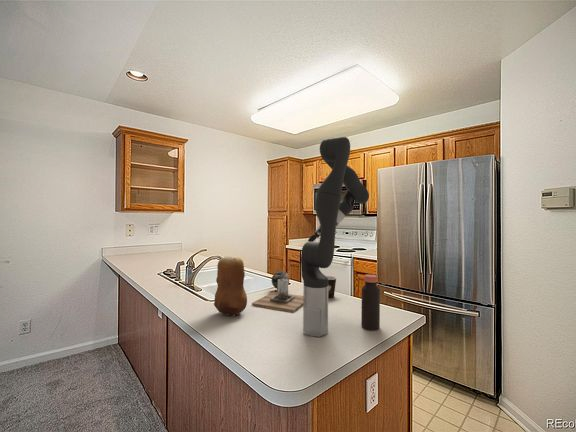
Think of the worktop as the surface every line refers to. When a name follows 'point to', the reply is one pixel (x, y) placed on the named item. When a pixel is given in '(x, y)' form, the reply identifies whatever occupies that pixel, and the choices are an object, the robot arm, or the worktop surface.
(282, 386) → the worktop surface
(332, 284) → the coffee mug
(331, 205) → the robot arm
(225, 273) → the butternut squash
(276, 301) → the pocket base
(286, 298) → the steel hub
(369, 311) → the bottle
